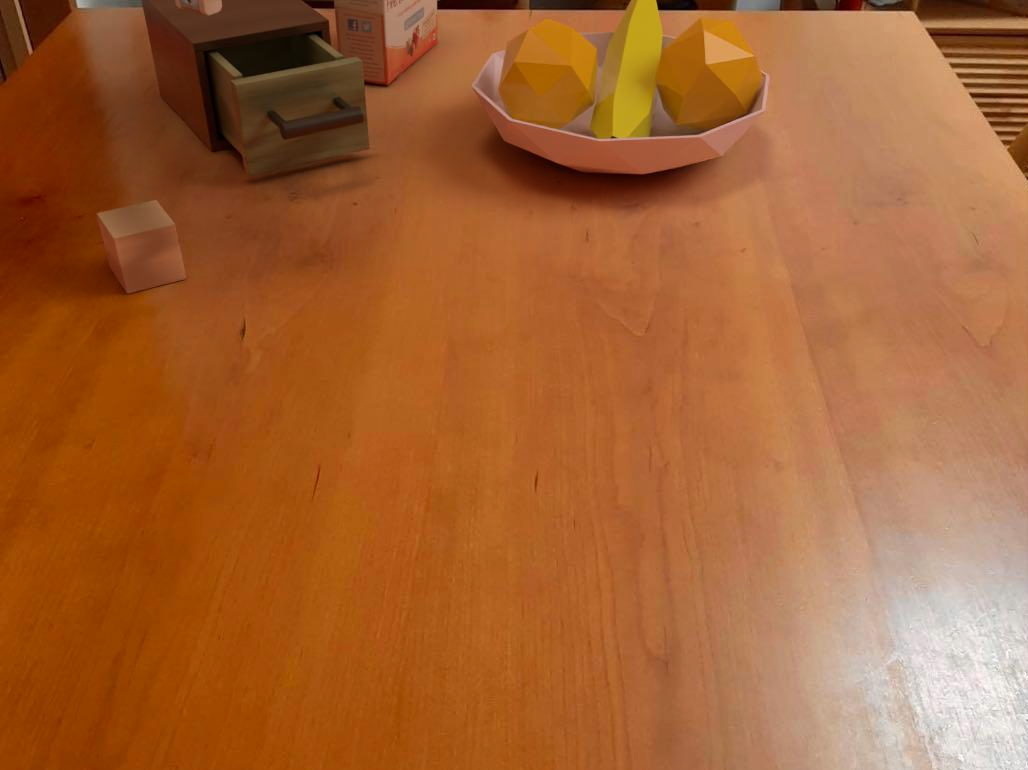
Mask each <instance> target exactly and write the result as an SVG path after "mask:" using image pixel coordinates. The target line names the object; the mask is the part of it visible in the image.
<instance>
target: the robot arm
mask: <svg viewBox="0 0 1028 770" xmlns="http://www.w3.org/2000/svg"><path fill="white" fill-rule="evenodd" d="M175 3H176V6H177V7H178V8H181V9H184V10H190V11H194V12H197V13H201V14H205V15H212V14H215V13H217V12H219V11H220V10H221V8H222V1H221V0H175Z"/></svg>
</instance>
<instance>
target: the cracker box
mask: <svg viewBox="0 0 1028 770" xmlns="http://www.w3.org/2000/svg"><path fill="white" fill-rule="evenodd" d="M333 6H334V15H335V16H334V19H335V29H336V30H335V31H336V41H337V51H338V52H339V53H340V54H342V55H343V59H346V58H352V57H358V58H359V59H361V60H362V63H363V75H364V83H371V84H376V85H377V84H378V85H385V86H389V85H390V84H391V83H393V82H394V81H395V80H396V79H397V78H398V77H399V76H400V75H401V74H403V73H404V72H406V70H407V69H408V68H410V67H411V66H413V64H414V63H415V62H417V61H418V60H419V59H420V58H421V57H423V56H424V55H425V54H426V53H427V52H428V51H429V50H431V49H432V48H433V47H435V45H437V44H438V42H439V31H438V0H333Z"/></svg>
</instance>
